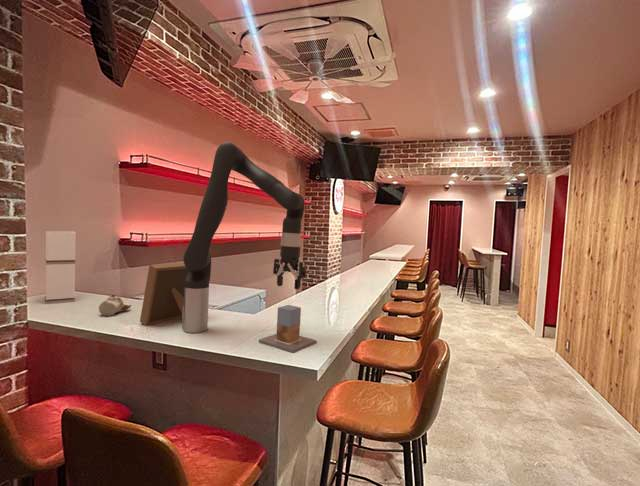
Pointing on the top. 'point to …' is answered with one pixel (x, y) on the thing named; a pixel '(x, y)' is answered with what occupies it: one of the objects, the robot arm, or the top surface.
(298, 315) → the slate block
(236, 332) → the top surface
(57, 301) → the white stacked pillar
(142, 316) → the photo frame
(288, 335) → the walnut block
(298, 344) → the base plate
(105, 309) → the ceramic sculpture
